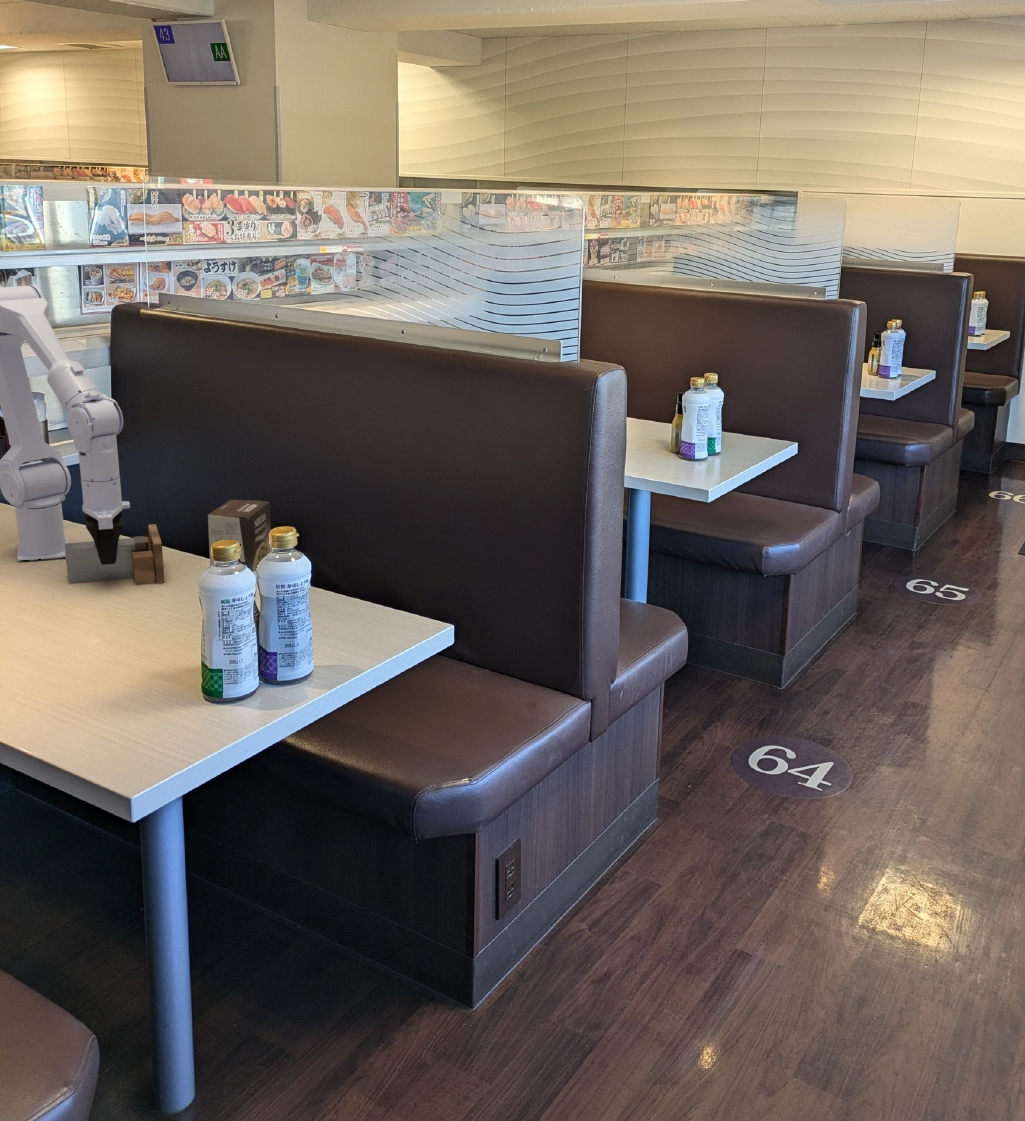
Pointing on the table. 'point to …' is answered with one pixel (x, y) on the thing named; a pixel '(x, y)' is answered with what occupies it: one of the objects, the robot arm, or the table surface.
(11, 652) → the table surface
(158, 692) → the table surface
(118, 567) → the rail
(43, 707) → the table surface
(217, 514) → the coffee box
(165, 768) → the table surface
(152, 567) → the post block
